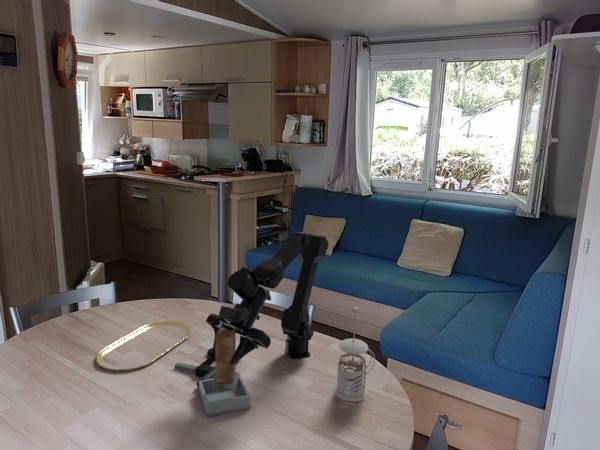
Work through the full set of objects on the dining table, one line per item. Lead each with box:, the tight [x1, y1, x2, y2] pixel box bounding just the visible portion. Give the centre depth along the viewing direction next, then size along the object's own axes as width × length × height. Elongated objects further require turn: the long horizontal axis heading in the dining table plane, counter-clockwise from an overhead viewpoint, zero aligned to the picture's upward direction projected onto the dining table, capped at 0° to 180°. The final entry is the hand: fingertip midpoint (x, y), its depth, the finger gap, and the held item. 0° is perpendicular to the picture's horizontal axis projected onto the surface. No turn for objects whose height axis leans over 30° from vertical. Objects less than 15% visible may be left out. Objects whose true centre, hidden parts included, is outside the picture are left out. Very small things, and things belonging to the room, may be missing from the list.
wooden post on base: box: [212, 330, 240, 390], centre depth 119 cm, size 6×6×14 cm
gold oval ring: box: [95, 320, 192, 372], centre depth 150 cm, size 19×35×2 cm, turn 159°
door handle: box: [174, 347, 241, 389], centre depth 137 cm, size 3×20×16 cm
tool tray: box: [198, 373, 251, 418], centre depth 121 cm, size 11×11×4 cm
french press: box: [332, 306, 376, 403], centre depth 126 cm, size 10×12×25 cm
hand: (222, 360), depth 118 cm, fingers closed on wooden post on base, 6 cm apart
